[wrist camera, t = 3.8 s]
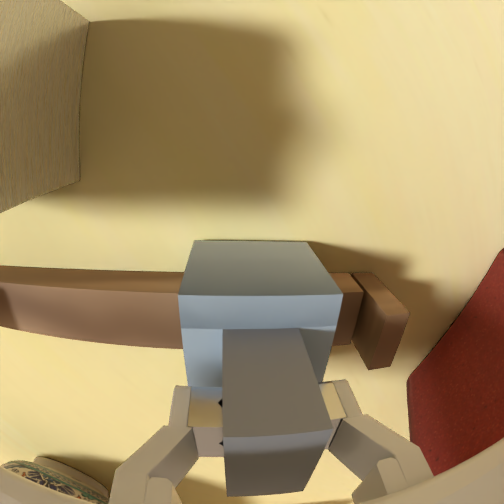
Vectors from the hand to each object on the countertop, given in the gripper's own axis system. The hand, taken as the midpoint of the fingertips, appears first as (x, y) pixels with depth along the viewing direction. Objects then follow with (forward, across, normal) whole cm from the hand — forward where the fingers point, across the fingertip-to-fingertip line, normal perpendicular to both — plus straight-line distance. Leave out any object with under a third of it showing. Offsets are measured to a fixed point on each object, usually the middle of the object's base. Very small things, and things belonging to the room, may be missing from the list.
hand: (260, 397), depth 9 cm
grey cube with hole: (+6, +12, -10) cm, 17 cm away
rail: (+6, +5, 0) cm, 8 cm away
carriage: (+6, 0, 0) cm, 6 cm away
